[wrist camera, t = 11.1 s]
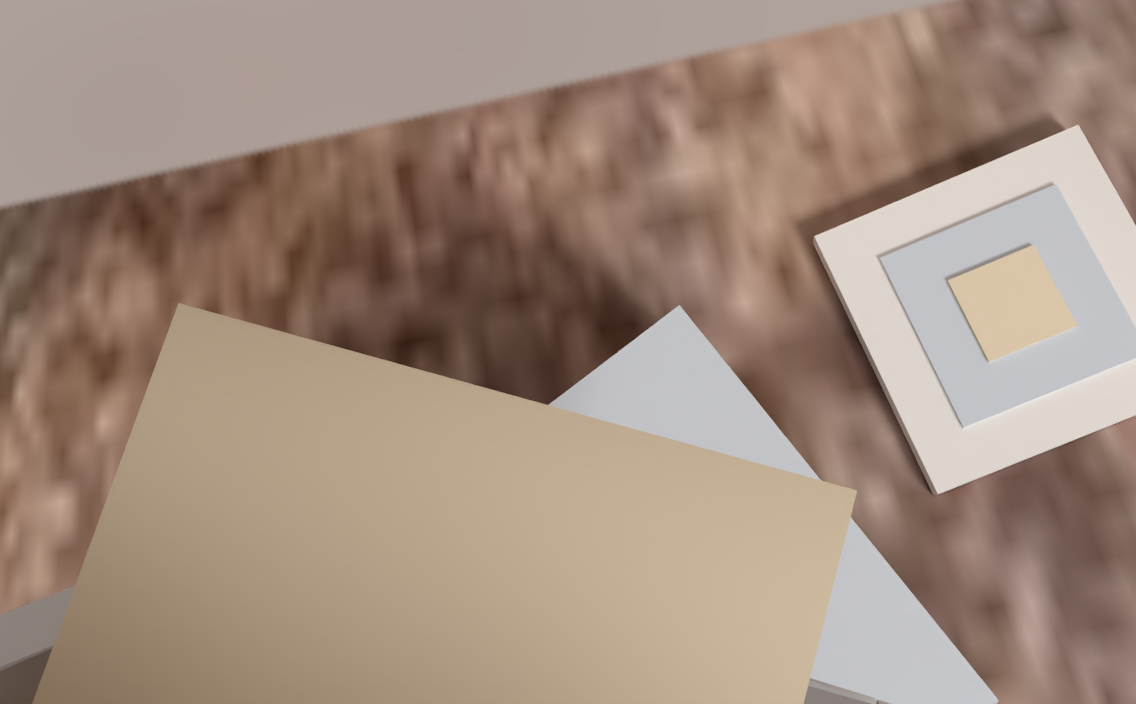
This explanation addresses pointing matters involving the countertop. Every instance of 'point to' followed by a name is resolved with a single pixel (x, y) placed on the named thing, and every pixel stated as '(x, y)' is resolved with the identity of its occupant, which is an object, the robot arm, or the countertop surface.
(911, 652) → the grey-blue block
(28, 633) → the robot arm
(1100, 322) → the picture tile
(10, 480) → the countertop surface
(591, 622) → the maple block
